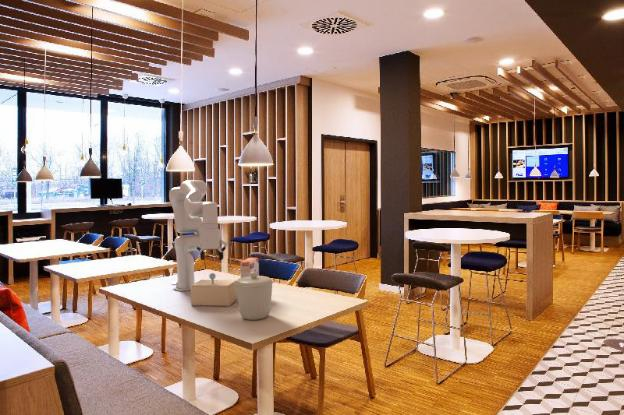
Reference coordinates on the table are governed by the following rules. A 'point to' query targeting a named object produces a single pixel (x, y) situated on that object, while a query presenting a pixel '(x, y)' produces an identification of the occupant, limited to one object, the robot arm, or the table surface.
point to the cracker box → (249, 266)
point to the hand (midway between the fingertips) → (212, 259)
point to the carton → (214, 294)
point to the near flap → (211, 284)
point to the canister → (254, 296)
